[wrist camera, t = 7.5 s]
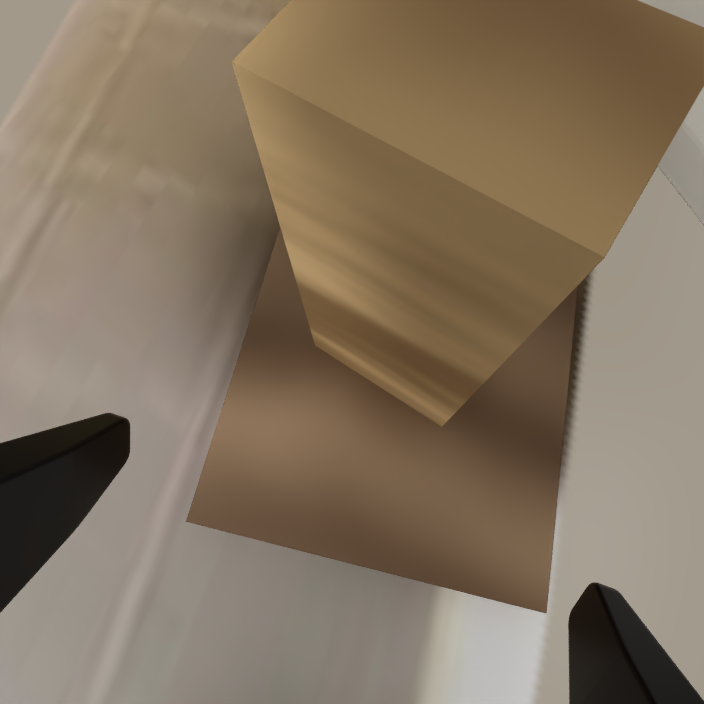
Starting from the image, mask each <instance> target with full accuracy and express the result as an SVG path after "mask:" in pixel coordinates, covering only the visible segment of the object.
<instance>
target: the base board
mask: <svg viewBox="0 0 704 704" xmlns="http://www.w3.org/2000/svg"><path fill="white" fill-rule="evenodd" d="M577 290H578V286H577V287H576V288H575V289H574V290H573V291H572V292H571V293H570V294H569V295H568V296H567V297H566V298H565V299H564V300H563V301H562V302H561V303H560V304H559V305H558V306H557V307H556V309H555V310H554V311H553V312H552V313H551V314H550V315H549V316H548V317H547V318H546V319H545V320H544V321H543V322H542V323H541V324H540V325H539V326H538V327H537V328H536V329H535V330H534V331H533V332H532V334H531V335H530V336H529V337H528V338H527V339H526V340H525V341H524V342H523V343H522V344H521V345H520V346H519V347H518V348H517V349H516V350H515V351H514V352H513V353H512V354H511V355H510V356H509V357H508V358H507V360H506V361H505V362H504V363H503V364H502V365H501V366H500V367H499V368H498V369H497V370H496V371H495V372H494V373H493V374H492V375H491V376H490V377H489V378H488V379H487V380H486V381H485V382H484V383H483V384H482V386H481V387H480V388H479V389H478V390H477V391H476V392H475V393H474V394H473V395H472V396H471V397H470V398H469V399H468V400H467V401H466V402H465V403H464V404H463V405H462V406H461V407H460V408H459V409H458V410H457V412H456V413H455V414H454V415H453V416H452V417H451V418H450V419H449V420H448V421H447V422H446V423H445V424H444V425H443V426H442V427H441V426H440V425H438V424H436V423H435V422H433V421H432V420H430V419H429V418H427V417H426V416H424V415H423V414H421V413H419V412H418V411H416V410H415V409H413V408H412V407H410V406H409V405H407V404H405V403H404V402H402V401H401V400H399V399H398V398H396V397H395V396H393V395H391V394H390V393H388V392H387V391H385V390H384V389H382V388H381V387H379V386H377V385H376V384H374V383H373V382H371V381H370V380H368V379H367V378H365V377H363V376H362V375H360V374H359V373H357V372H356V371H354V370H353V369H351V368H349V367H348V366H346V365H345V364H343V363H342V362H340V361H339V360H337V359H335V358H334V357H332V356H331V355H329V354H328V353H326V352H325V351H323V350H321V349H320V348H318V347H317V346H315V343H314V340H313V337H312V333H311V330H310V326H309V323H308V320H307V316H306V313H305V309H304V306H303V303H302V299H301V296H300V292H299V289H298V286H297V282H296V279H295V275H294V272H293V268H292V265H291V262H290V258H289V255H288V251H287V248H286V245H285V241H284V238H283V234H282V231H281V228H280V229H279V232H278V235H277V238H276V241H275V244H274V247H273V251H272V254H271V257H270V260H269V263H268V266H267V269H266V273H265V276H264V279H263V282H262V285H261V288H260V291H259V294H258V298H257V301H256V304H255V307H254V310H253V313H252V316H251V320H250V323H249V326H248V329H247V332H246V335H245V338H244V341H243V345H242V348H241V351H240V354H239V357H238V360H237V363H236V367H235V370H234V373H233V376H232V379H231V382H230V385H229V388H228V392H227V395H226V398H225V401H224V404H223V407H222V410H221V414H220V417H219V420H218V423H217V426H216V429H215V432H214V435H213V439H212V442H211V445H210V448H209V451H208V454H207V457H206V461H205V464H204V467H203V470H202V473H201V476H200V479H199V482H198V486H197V489H196V492H195V495H194V498H193V501H192V504H191V508H190V511H189V514H188V517H187V520H186V522H190V523H194V524H198V525H202V526H206V527H210V528H213V529H217V530H221V531H225V532H229V533H233V534H237V535H241V536H245V537H249V538H253V539H257V540H260V541H264V542H268V543H272V544H276V545H280V546H284V547H288V548H292V549H296V550H300V551H304V552H308V553H311V554H315V555H319V556H323V557H327V558H331V559H335V560H339V561H343V562H347V563H351V564H355V565H358V566H362V567H366V568H370V569H374V570H378V571H382V572H386V573H390V574H394V575H398V576H402V577H406V578H409V579H413V580H417V581H421V582H425V583H429V584H433V585H437V586H441V587H445V588H449V589H453V590H456V591H460V592H464V593H468V594H472V595H476V596H480V597H484V598H488V599H492V600H496V601H500V602H503V603H507V604H511V605H515V606H519V607H523V608H527V609H531V610H535V611H539V612H543V613H546V612H547V601H548V591H549V581H550V570H551V560H552V549H553V539H554V529H555V518H556V508H557V498H558V487H559V477H560V466H561V456H562V446H563V435H564V425H565V414H566V404H567V394H568V383H569V373H570V362H571V352H572V342H573V331H574V321H575V311H576V300H577Z"/></svg>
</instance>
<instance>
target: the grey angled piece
mask: <svg viewBox="0 0 704 704" xmlns="http://www.w3.org/2000/svg"><path fill="white" fill-rule="evenodd" d="M638 1H640V2H643V3H645V4H648V5H650V6H653V7H655V8H658V9H660V10H663V11H665V12H667V13H670V14H672V15H675V16H677V17H680V18H682V19H685V20H687V21H689V22H692V23H694V24H697V25H699V26H702V27H704V0H638ZM658 167H659V168H660V169H661V171H662V172H663V174H664V175H665V176H666V177H667V179H668V180H669V181H670V183H671V184H672V185H673V186H674V188H675V189H676V190H677V192H678V193H679V194H680V195H681V197H682V198H683V199H684V200H685V202H686V203H687V204H688V205H689V207H690V208H691V209H692V211H693V212H694V213H695V215H697V217H698V218H699V220H700V221H701V222H702V224H703V225H704V86H703V88H702V90H701V92H700V93H699V95H698V97H697V98H696V100H695V102H694V104H693V105H692V107H691V109H690V111H689V112H688V114H687V116H686V118H685V119H684V121H683V123H682V124H681V126H680V128H679V130H678V131H677V133H676V135H675V137H674V138H673V140H672V142H671V143H670V145H669V147H668V149H667V150H666V152H665V154H664V156H663V157H662V159H661V161H660V162H659V164H658Z"/></svg>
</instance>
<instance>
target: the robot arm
mask: <svg viewBox="0 0 704 704" xmlns="http://www.w3.org/2000/svg"><path fill="white" fill-rule="evenodd" d="M129 453H130V423H129V421H128V419H126V418H124V417H121V416H118V415H115V414H113V413H105V414H101V415H98V416H94V417H91V418H87V419H84V420H80V421H77V422H73V423H70V424H66V425H63V426H59V427H56V428H52V429H49V430H45V431H42V432H38V433H35V434H31V435H28V436H24V437H21V438H17V439H14V440H10V441H6V442H3V443H0V612H1V611H2V610H3V609H4V608H5V607H6V606H7V605H8V604H9V603H10V601H11V600H12V599H13V598H14V597H15V596H16V595H17V594H18V593H19V592H20V590H21V589H22V588H23V587H24V586H25V585H26V584H27V583H28V582H29V580H30V579H31V578H32V577H33V576H34V575H35V574H36V573H37V572H38V571H39V569H40V568H41V567H42V566H43V565H44V564H45V563H46V562H47V561H48V560H49V558H50V557H51V556H52V555H53V554H54V553H55V552H56V551H57V550H58V549H59V547H60V546H61V545H62V544H63V543H64V542H65V541H66V540H67V539H68V537H69V536H70V535H71V534H72V533H73V532H74V531H75V529H76V528H77V527H78V526H79V525H80V523H81V522H82V521H83V519H84V518H85V517H86V516H87V514H88V513H89V512H90V510H91V509H92V508H93V506H94V505H95V503H96V502H97V501H98V499H99V498H100V497H101V495H102V494H103V493H104V491H105V490H106V489H107V487H108V486H109V485H110V483H111V482H112V481H113V479H114V478H115V477H116V475H117V474H118V472H119V471H120V470H121V468H122V467H123V466H124V464H125V463H126V461H127V459H128V457H129ZM568 628H569V704H704V700H703V699H702V698H701V697H700V695H699V694H698V693H697V691H696V690H695V689H694V688H693V686H692V685H691V684H690V683H689V681H688V680H687V679H686V677H685V676H684V675H683V673H682V672H681V671H680V670H679V669H678V667H677V666H676V664H675V663H674V662H673V661H672V659H671V658H670V657H669V656H668V654H667V653H666V652H665V650H664V649H663V648H662V646H661V645H660V644H659V643H658V641H657V640H656V639H655V637H654V636H653V635H652V634H651V632H650V631H649V630H648V629H647V627H646V626H645V624H644V623H643V622H642V621H641V619H640V618H639V617H638V616H637V614H636V613H635V612H634V610H633V609H632V608H631V606H630V605H629V604H628V603H627V601H626V600H625V599H624V597H623V596H622V595H621V594H620V593H619V592H618V591H617V590H615V589H613V588H610V587H608V586H605V585H602V584H599V583H591V584H589V585H588V587H587V588H586V589H585V591H584V592H583V594H582V595H581V597H580V598H579V600H578V601H577V603H576V604H575V606H574V607H573V609H572V611H571V613H570V616H569V624H568Z"/></svg>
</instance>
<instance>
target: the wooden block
mask: <svg viewBox="0 0 704 704" xmlns="http://www.w3.org/2000/svg"><path fill="white" fill-rule="evenodd" d="M232 64H233V67H234V71H235V74H236V78H237V81H238V84H239V88H240V91H241V95H242V98H243V101H244V105H245V108H246V112H247V115H248V118H249V122H250V125H251V129H252V132H253V135H254V139H255V142H256V146H257V149H258V153H259V156H260V159H261V163H262V166H263V170H264V173H265V176H266V180H267V183H268V187H269V190H270V193H271V197H272V200H273V204H274V207H275V210H276V214H277V217H278V221H279V224H280V228H281V231H282V234H283V238H284V241H285V245H286V248H287V251H288V255H289V258H290V262H291V265H292V268H293V272H294V275H295V279H296V282H297V286H298V289H299V292H300V296H301V299H302V303H303V306H304V309H305V313H306V316H307V320H308V323H309V326H310V330H311V333H312V337H313V340H314V343H315V346H317V347H318V348H320V349H321V350H323V351H325V352H326V353H328V354H329V355H331V356H332V357H334V358H335V359H337V360H339V361H340V362H342V363H343V364H345V365H346V366H348V367H349V368H351V369H353V370H354V371H356V372H357V373H359V374H360V375H362V376H363V377H365V378H367V379H368V380H370V381H371V382H373V383H374V384H376V385H377V386H379V387H381V388H382V389H384V390H385V391H387V392H388V393H390V394H391V395H393V396H395V397H396V398H398V399H399V400H401V401H402V402H404V403H405V404H407V405H409V406H410V407H412V408H413V409H415V410H416V411H418V412H419V413H421V414H423V415H424V416H426V417H427V418H429V419H430V420H432V421H433V422H435V423H436V424H438V425H440V426H441V427H442V426H443V425H444V424H445V423H446V422H447V421H448V420H449V419H450V418H451V417H452V416H453V415H454V414H455V413H456V412H457V410H458V409H459V408H460V407H461V406H462V405H463V404H464V403H465V402H466V401H467V400H468V399H469V398H470V397H471V396H472V395H473V394H474V393H475V392H476V391H477V390H478V389H479V388H480V387H481V386H482V384H483V383H484V382H485V381H486V380H487V379H488V378H489V377H490V376H491V375H492V374H493V373H494V372H495V371H496V370H497V369H498V368H499V367H500V366H501V365H502V364H503V363H504V362H505V361H506V360H507V358H508V357H509V356H510V355H511V354H512V353H513V352H514V351H515V350H516V349H517V348H518V347H519V346H520V345H521V344H522V343H523V342H524V341H525V340H526V339H527V338H528V337H529V336H530V335H531V334H532V332H533V331H534V330H535V329H536V328H537V327H538V326H539V325H540V324H541V323H542V322H543V321H544V320H545V319H546V318H547V317H548V316H549V315H550V314H551V313H552V312H553V311H554V310H555V309H556V307H557V306H558V305H559V304H560V303H561V302H562V301H563V300H564V299H565V298H566V297H567V296H568V295H569V294H570V293H571V292H572V291H573V290H574V289H575V288H576V287H577V286H578V285H579V284H580V283H581V281H582V280H583V279H584V278H585V277H586V276H587V275H588V274H589V273H590V272H591V271H592V270H593V269H594V268H595V267H596V266H597V265H598V264H599V263H600V262H601V261H602V259H604V258H605V256H606V254H607V252H608V251H609V249H610V247H611V245H612V244H613V242H614V240H615V239H616V237H617V235H618V233H619V232H620V230H621V228H622V226H623V225H624V223H625V221H626V220H627V218H628V216H629V214H630V213H631V211H632V209H633V207H634V206H635V204H636V202H637V201H638V199H639V197H640V195H641V194H642V192H643V190H644V188H645V187H646V185H647V183H648V181H649V180H650V178H651V176H652V175H653V173H654V171H655V169H656V168H657V166H658V164H659V162H660V161H661V159H662V157H663V156H664V154H665V152H666V150H667V149H668V147H669V145H670V143H671V142H672V140H673V138H674V137H675V135H676V133H677V131H678V130H679V128H680V126H681V124H682V123H683V121H684V119H685V118H686V116H687V114H688V112H689V111H690V109H691V107H692V105H693V104H694V102H695V100H696V98H697V97H698V95H699V93H700V92H701V90H702V88H703V86H704V27H702V26H699V25H697V24H694V23H692V22H689V21H687V20H685V19H682V18H680V17H677V16H675V15H672V14H670V13H667V12H665V11H663V10H660V9H658V8H655V7H653V6H650V5H648V4H645V3H643V2H640V1H638V0H291V1H290V2H289V3H288V4H287V5H286V6H285V7H284V8H283V9H282V10H281V11H280V12H279V13H278V14H277V15H276V16H275V18H274V19H273V20H272V21H271V22H270V23H269V24H268V25H267V26H266V27H265V28H264V29H263V30H262V31H261V32H260V33H259V34H258V35H257V36H256V37H255V38H254V39H253V40H252V41H251V42H250V43H249V44H248V45H247V46H246V47H245V49H244V50H243V51H242V52H241V53H240V54H239V55H238V56H237V57H236V58H235V59H234V60H233V61H232Z"/></svg>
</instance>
